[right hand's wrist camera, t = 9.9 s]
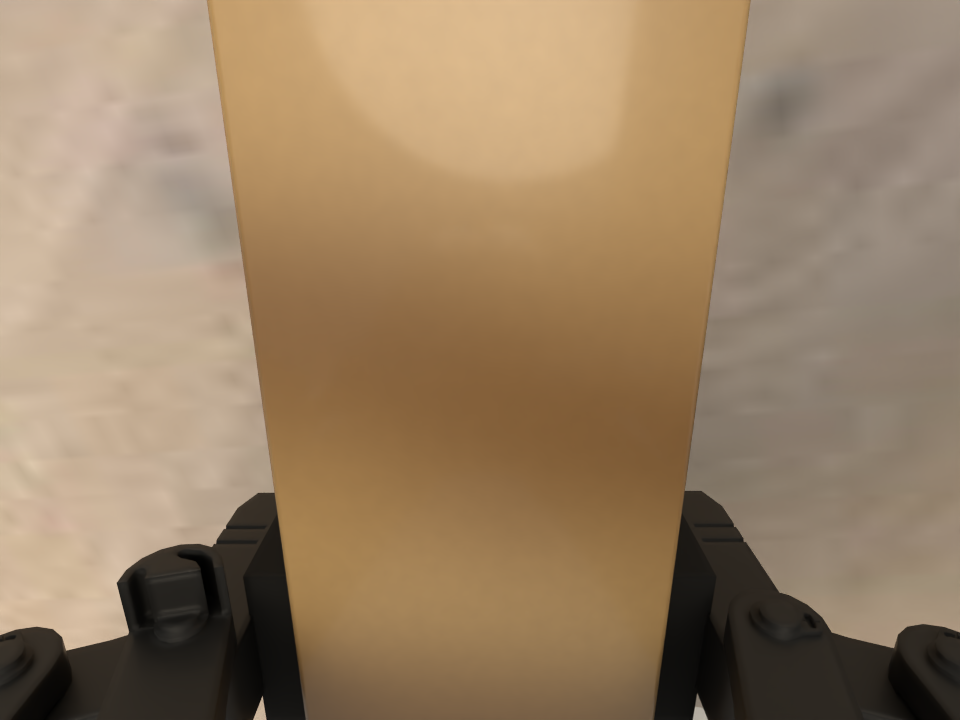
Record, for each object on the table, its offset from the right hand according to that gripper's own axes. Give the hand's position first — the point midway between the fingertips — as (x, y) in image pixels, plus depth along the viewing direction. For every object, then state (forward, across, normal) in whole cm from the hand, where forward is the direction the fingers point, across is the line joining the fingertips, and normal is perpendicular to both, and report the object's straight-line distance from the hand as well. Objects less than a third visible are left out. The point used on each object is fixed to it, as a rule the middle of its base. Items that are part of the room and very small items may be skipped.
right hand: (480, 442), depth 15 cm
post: (+1, 0, -24) cm, 24 cm away
